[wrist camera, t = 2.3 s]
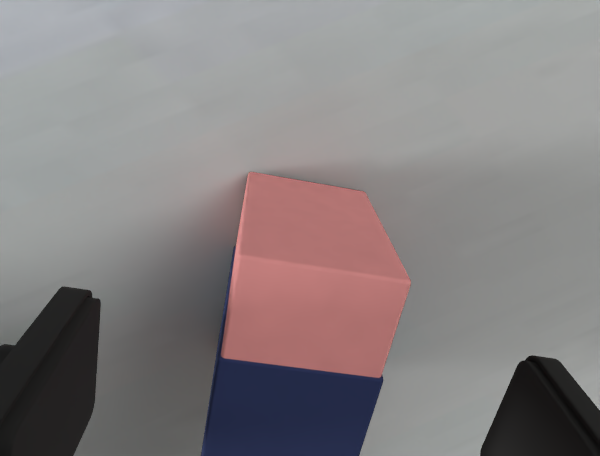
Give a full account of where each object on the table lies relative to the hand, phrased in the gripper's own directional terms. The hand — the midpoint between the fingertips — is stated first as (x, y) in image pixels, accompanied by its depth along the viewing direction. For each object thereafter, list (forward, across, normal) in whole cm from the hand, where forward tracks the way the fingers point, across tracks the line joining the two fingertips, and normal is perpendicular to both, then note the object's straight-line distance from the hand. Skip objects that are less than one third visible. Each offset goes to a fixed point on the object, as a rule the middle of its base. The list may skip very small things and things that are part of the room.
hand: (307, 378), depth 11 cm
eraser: (+4, 0, 0) cm, 4 cm away
